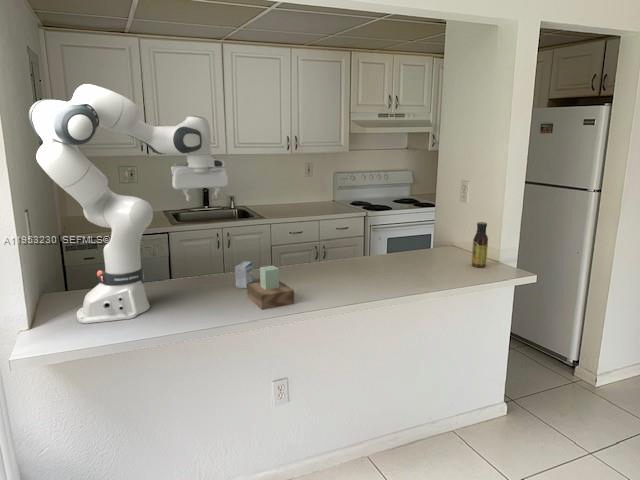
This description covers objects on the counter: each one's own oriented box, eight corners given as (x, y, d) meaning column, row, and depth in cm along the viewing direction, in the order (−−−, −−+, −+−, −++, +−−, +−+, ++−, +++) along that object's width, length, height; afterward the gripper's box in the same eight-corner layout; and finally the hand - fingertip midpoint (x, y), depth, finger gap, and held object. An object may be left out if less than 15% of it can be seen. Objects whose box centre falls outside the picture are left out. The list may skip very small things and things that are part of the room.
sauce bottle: (471, 263, 216) (474, 220, 212) (485, 264, 215) (489, 221, 210) (471, 267, 210) (474, 223, 206) (486, 268, 209) (489, 224, 204)
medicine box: (246, 288, 183) (245, 267, 181) (235, 287, 183) (234, 266, 181) (253, 282, 190) (252, 261, 188) (243, 281, 191) (242, 261, 189)
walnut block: (261, 309, 161) (261, 295, 160) (247, 297, 173) (247, 284, 172) (293, 303, 167) (293, 290, 165) (277, 292, 178) (277, 279, 177)
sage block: (265, 290, 165) (265, 270, 164) (260, 286, 170) (259, 267, 168) (279, 287, 168) (278, 268, 166) (273, 284, 172) (272, 265, 170)
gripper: (172, 163, 165) (175, 203, 168) (229, 161, 175) (230, 199, 178) (168, 162, 171) (171, 200, 174) (223, 161, 180) (225, 197, 183)
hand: (201, 200), depth 176 cm, fingers open, 8 cm apart
